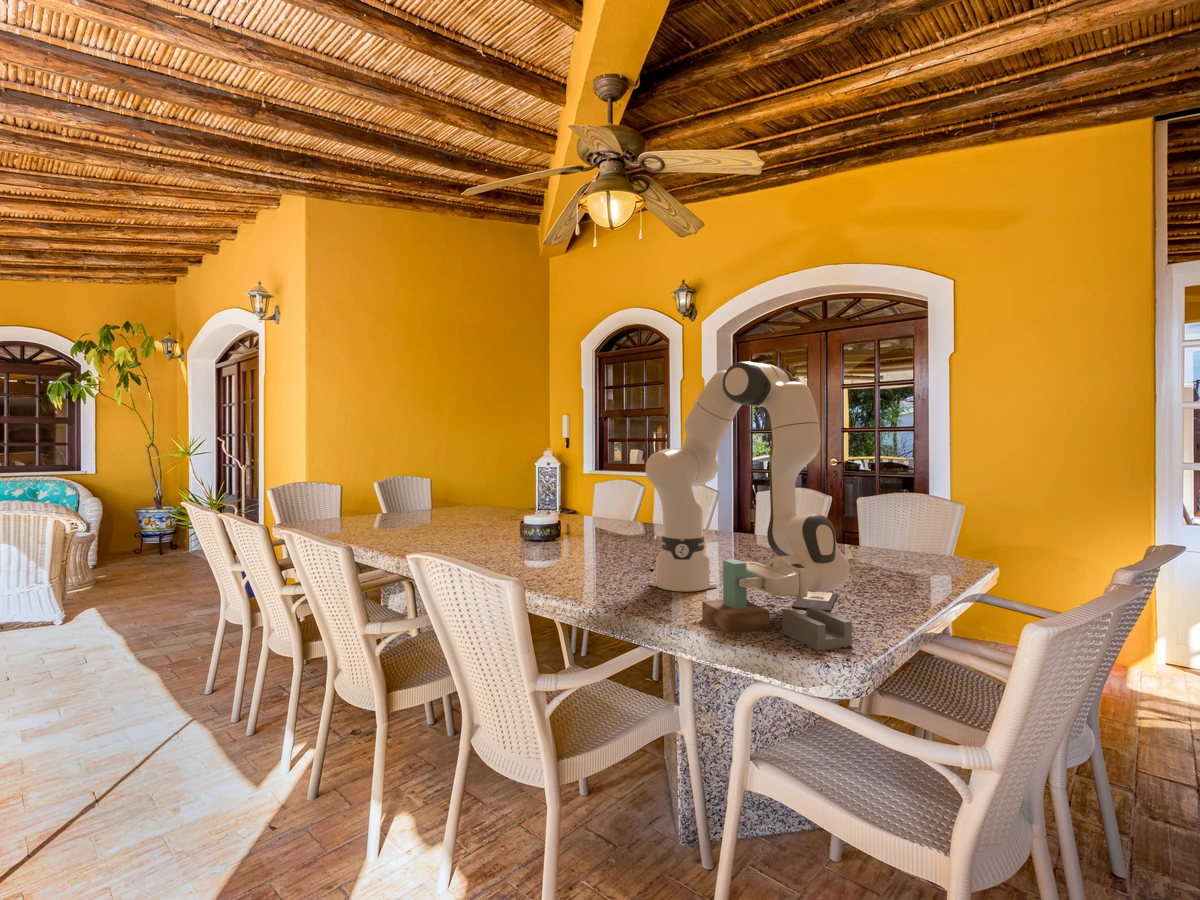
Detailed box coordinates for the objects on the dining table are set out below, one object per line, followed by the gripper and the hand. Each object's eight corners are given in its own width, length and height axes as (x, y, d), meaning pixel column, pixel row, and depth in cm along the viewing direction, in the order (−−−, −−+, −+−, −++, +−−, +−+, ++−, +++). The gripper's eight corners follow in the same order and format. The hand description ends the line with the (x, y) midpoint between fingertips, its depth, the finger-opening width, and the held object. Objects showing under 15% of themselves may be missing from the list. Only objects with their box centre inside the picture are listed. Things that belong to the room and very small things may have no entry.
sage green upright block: (723, 603, 144) (723, 560, 144) (735, 602, 145) (734, 559, 145) (734, 609, 140) (734, 564, 139) (746, 608, 141) (746, 563, 140)
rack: (782, 633, 135) (782, 609, 135) (813, 629, 138) (813, 606, 138) (817, 650, 124) (817, 625, 124) (851, 646, 126) (851, 621, 126)
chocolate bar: (791, 606, 155) (802, 590, 172) (791, 610, 155) (802, 594, 172) (830, 610, 151) (838, 593, 168) (830, 614, 151) (837, 597, 168)
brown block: (702, 618, 147) (702, 601, 147) (740, 614, 150) (740, 597, 150) (728, 633, 135) (728, 615, 135) (769, 629, 138) (769, 610, 138)
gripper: (759, 554, 156) (709, 557, 152) (811, 570, 137) (755, 574, 132) (759, 579, 156) (709, 583, 152) (811, 599, 137) (755, 604, 133)
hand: (731, 579), depth 142 cm, fingers closed on sage green upright block, 5 cm apart
